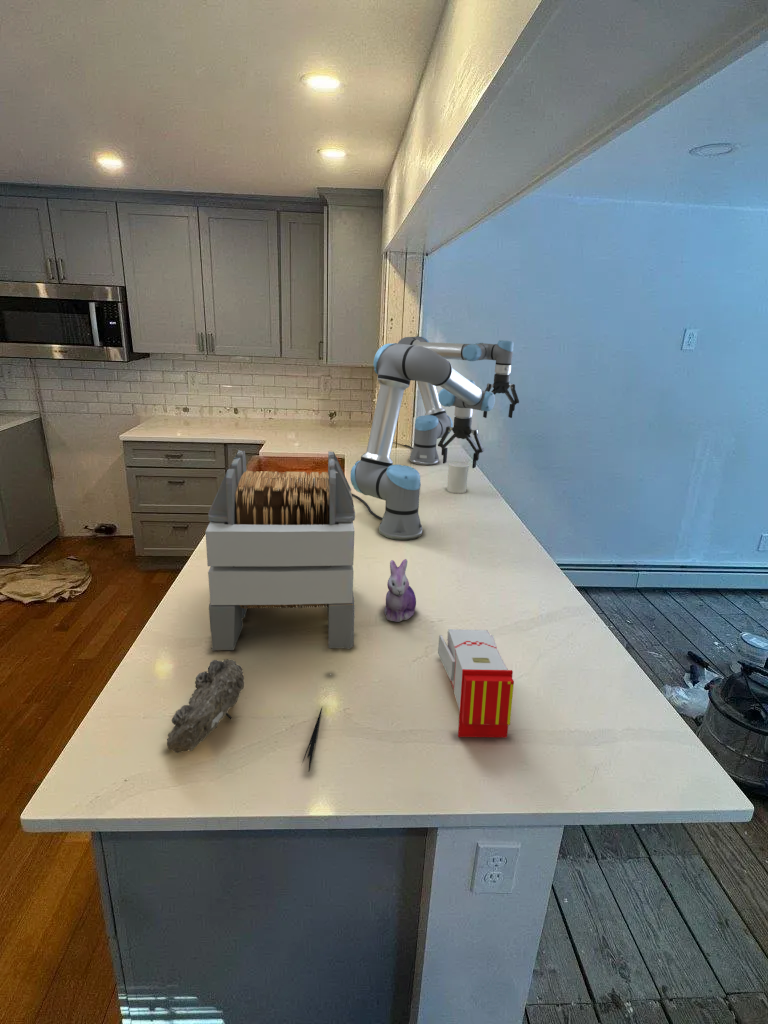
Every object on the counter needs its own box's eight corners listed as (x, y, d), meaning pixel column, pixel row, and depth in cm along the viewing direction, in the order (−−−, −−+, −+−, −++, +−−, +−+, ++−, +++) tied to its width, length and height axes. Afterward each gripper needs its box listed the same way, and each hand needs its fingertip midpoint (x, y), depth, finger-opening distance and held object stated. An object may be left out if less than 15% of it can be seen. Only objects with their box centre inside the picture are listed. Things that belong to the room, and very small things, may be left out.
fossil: (192, 660, 117) (244, 628, 112) (224, 691, 120) (276, 661, 115) (142, 746, 98) (202, 712, 93) (182, 779, 101) (242, 748, 96)
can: (468, 489, 253) (471, 463, 249) (462, 494, 246) (464, 468, 242) (451, 486, 257) (453, 460, 253) (443, 491, 250) (446, 464, 246)
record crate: (231, 583, 159) (223, 441, 145) (347, 582, 163) (350, 443, 149) (209, 653, 127) (196, 479, 114) (354, 649, 131) (359, 481, 117)
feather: (331, 679, 122) (336, 673, 122) (307, 777, 96) (313, 769, 95) (324, 675, 122) (329, 669, 121) (298, 772, 95) (304, 764, 95)
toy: (488, 613, 130) (523, 677, 101) (484, 667, 133) (517, 744, 104) (435, 612, 130) (455, 676, 101) (432, 666, 133) (451, 743, 103)
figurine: (392, 627, 141) (395, 572, 136) (374, 608, 149) (376, 556, 144) (425, 619, 145) (429, 566, 140) (405, 601, 154) (408, 550, 149)
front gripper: (494, 418, 238) (489, 467, 246) (438, 412, 249) (435, 459, 256) (489, 421, 232) (484, 471, 239) (432, 414, 242) (429, 462, 250)
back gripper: (481, 374, 268) (476, 418, 275) (529, 375, 274) (523, 418, 281) (475, 372, 275) (471, 415, 282) (522, 373, 281) (517, 416, 288)
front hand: (459, 465), depth 248 cm, fingers open, 13 cm apart
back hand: (497, 417), depth 282 cm, fingers open, 13 cm apart
